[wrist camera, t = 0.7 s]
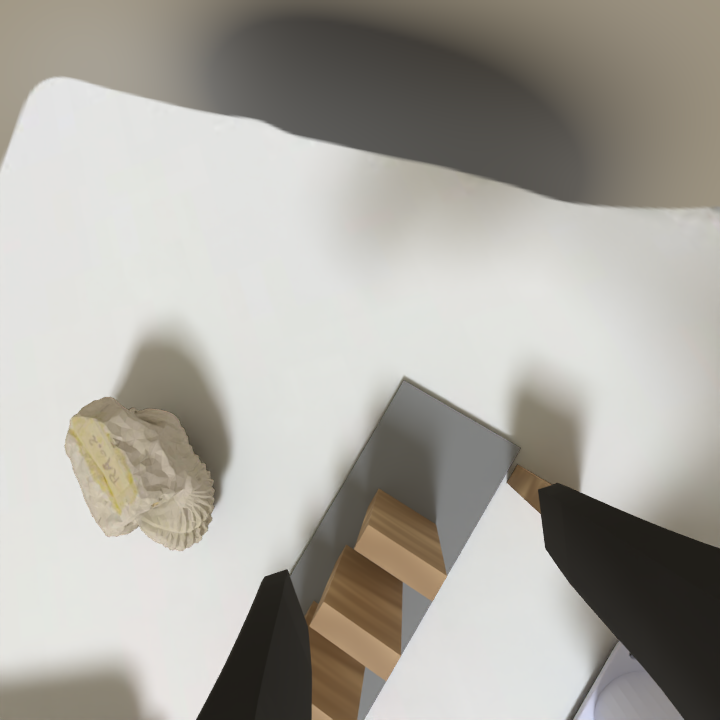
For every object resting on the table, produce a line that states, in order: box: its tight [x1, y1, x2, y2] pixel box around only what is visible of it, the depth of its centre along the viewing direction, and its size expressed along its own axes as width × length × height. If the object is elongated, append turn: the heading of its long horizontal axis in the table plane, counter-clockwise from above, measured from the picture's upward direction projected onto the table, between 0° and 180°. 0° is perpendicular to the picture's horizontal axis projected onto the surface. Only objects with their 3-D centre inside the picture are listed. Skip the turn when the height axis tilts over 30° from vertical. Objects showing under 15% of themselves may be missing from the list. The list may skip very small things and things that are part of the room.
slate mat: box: [290, 381, 521, 720], centre depth 29 cm, size 10×28×1 cm, turn 150°
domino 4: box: [507, 464, 552, 514], centre depth 24 cm, size 2×5×8 cm, turn 59°
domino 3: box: [304, 601, 365, 720], centre depth 25 cm, size 2×5×8 cm, turn 60°
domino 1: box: [354, 489, 447, 601], centre depth 25 cm, size 2×5×8 cm, turn 60°
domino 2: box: [310, 545, 403, 681], centre depth 25 cm, size 2×5×8 cm, turn 60°
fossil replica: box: [65, 397, 215, 551], centre depth 28 cm, size 12×8×10 cm
